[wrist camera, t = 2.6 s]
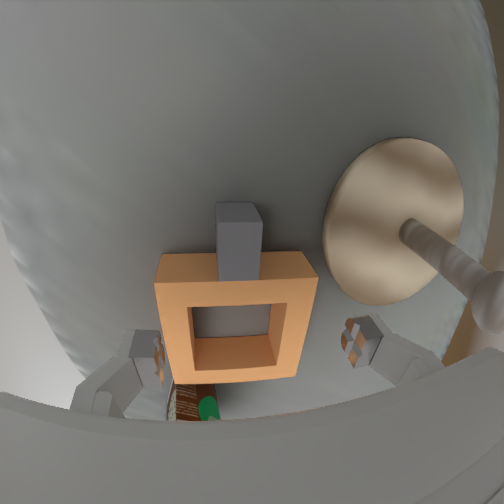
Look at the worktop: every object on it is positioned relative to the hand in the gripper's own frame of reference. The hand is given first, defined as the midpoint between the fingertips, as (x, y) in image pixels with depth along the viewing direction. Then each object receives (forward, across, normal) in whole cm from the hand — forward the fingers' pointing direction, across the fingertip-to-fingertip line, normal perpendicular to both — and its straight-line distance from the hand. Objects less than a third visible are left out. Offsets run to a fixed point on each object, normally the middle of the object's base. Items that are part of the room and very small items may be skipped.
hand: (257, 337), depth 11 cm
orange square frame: (+11, 0, +5) cm, 12 cm away
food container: (+11, +4, +19) cm, 22 cm away
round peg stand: (+11, -15, -1) cm, 18 cm away
